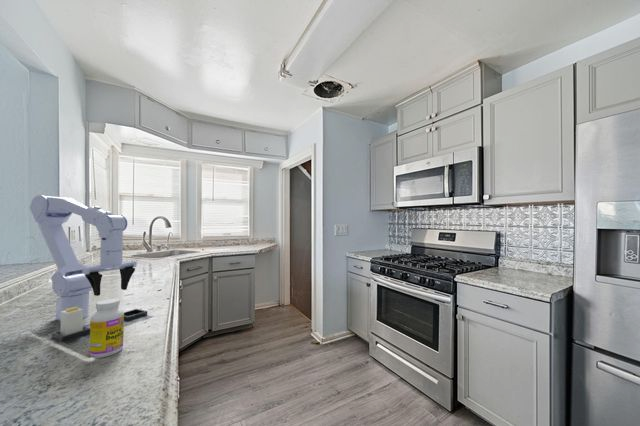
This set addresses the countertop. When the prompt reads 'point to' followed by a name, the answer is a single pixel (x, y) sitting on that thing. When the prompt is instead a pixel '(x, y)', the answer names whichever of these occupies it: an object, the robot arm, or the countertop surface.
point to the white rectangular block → (71, 321)
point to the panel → (129, 318)
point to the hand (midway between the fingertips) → (111, 292)
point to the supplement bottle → (106, 329)
